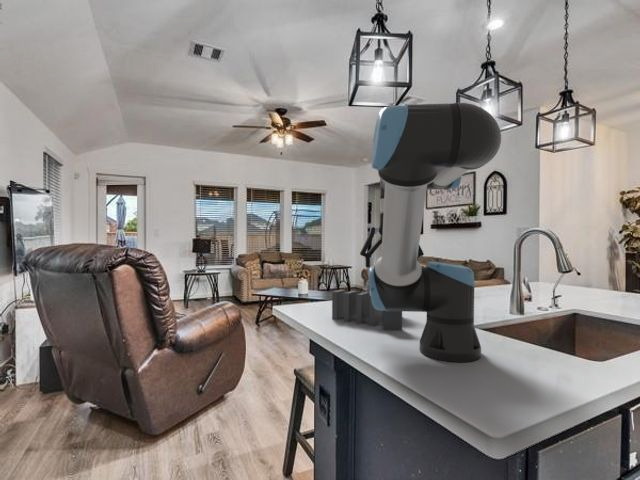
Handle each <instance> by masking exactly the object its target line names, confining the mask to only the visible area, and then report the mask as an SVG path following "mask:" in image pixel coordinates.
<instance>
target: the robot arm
mask: <svg viewBox="0 0 640 480" xmlns="http://www.w3.org/2000/svg"><path fill="white" fill-rule="evenodd" d="M376 117H377V118H376V123H375V126H374V133H373V139H372V147H371V148H372V149H371V157H370V158H371V162H370V163H371V168H372V169H374V170H376V171H377V175H378V177H379V190H380V191H379V193H380V196H379V211H380V212H381V213H380V214H379V227H375V226H372V227H370V228H369V234H368V236H367V238H366V239H365V242H364V244H363V246H362V248H361V251H360V252H359V255H360V256H361V257H364V258H365V268H366V269H367V268H368V279H369V280H368V281H369V293H371V301H372V305H373V307H374V308H375V309H376V310H382V311H387V312H388V311H402V312H408V313H409V312H410V313H411V312H413V313H415V312H419V313H421V312H423V313H426V321H425V324H424V327H423V330H422V334H421V336H420V339H419V352H421V354H423V355H425V356H427V357H428V358H432V359H436V360H439V361H446V362H453V363H454V362H456V363H468V362H473V361H477V360H479V359H480V358H481V357H482V346H481V343H480V340H479V336H478V333H477V330H476V327H475V288H476V282H475V273H474V271H473V270H472V269H471V268H470V267H467V266H463V265H459V264H454V263H453V264H452V263H444V262H440V261H439V262H438V261H428V262H427V263H426V266H424V267H423V266H422V265H421V263H420V262H419V259H418V258H419V257H423V256H424V254H425V253H424V251H423V249H422V247H421V245H420V240H421V234H422V233H421V232H422V225H423V218H424V210H425V204H426V203H425V202H426V198H427V197H426V196H427V190H444V191H447V190H455V189H458V188H459V186H460V184H461V181H462V176H463V175H465V174H466V173H467V172H469V171H470V170H471V171H472V170H477V169H480V168H482V167H484V166H485V165H487V164H489V162H491V161H492V160H493V159H494V158H495V156H496V155H497V154H498V152H499V149H500V147H501V143H502V134H501V129H500V128H501V127H500V126H499V124H498V122H497V120H496V118H494V116H493V114H491V113H490V112H489V111H487V110H486V109H484V108H482V107H480V106H477V105H476V104H472V103H467V102H455V103H454V102H453V103H426V104H425V103H422V104H407V103H403V104H401V105H391V106H390V105H389V106H385V107H383V108H382V109H381V110H380V111H379V112H378V114H377V116H376ZM377 233H379V234H380V236H379V238H378V239H377V240H376V242H375V243H374V244H373V246H371V247H370V245H371V243H372V240H373V239H374V236H375V235H377ZM380 246H381V255H380V257H378V259H377V260H376V262H375V264H374V265H373V263H374V262H373V257H371V256H372V255H373V254H374V253H375V252H376V250H377V249H378V248H379V247H380ZM369 247H370V249H369ZM368 249H369V250H368Z"/></svg>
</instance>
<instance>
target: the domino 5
mask: <svg viewBox="0 0 640 480" xmlns="http://www.w3.org/2000/svg"><path fill="white" fill-rule="evenodd" d="M381 329H382V330H383V331H403V311H388V312H387V311H382V323H381Z"/></svg>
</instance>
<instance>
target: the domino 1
mask: <svg viewBox="0 0 640 480" xmlns="http://www.w3.org/2000/svg"><path fill="white" fill-rule="evenodd" d="M346 292H347V291H346V289H341V288H340V289H337V290H332V292H331V302H332V303H331V309H332V310H331V315H332V316H331V319H332V320H336V321H338V320H340V319H344V293H346Z"/></svg>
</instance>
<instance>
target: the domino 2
mask: <svg viewBox="0 0 640 480" xmlns="http://www.w3.org/2000/svg"><path fill="white" fill-rule="evenodd" d="M356 294H359V293H358V290H351V291H350V290H349V291H346V293H344V318H343V322H348V323H350V322H353V321H356Z"/></svg>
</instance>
